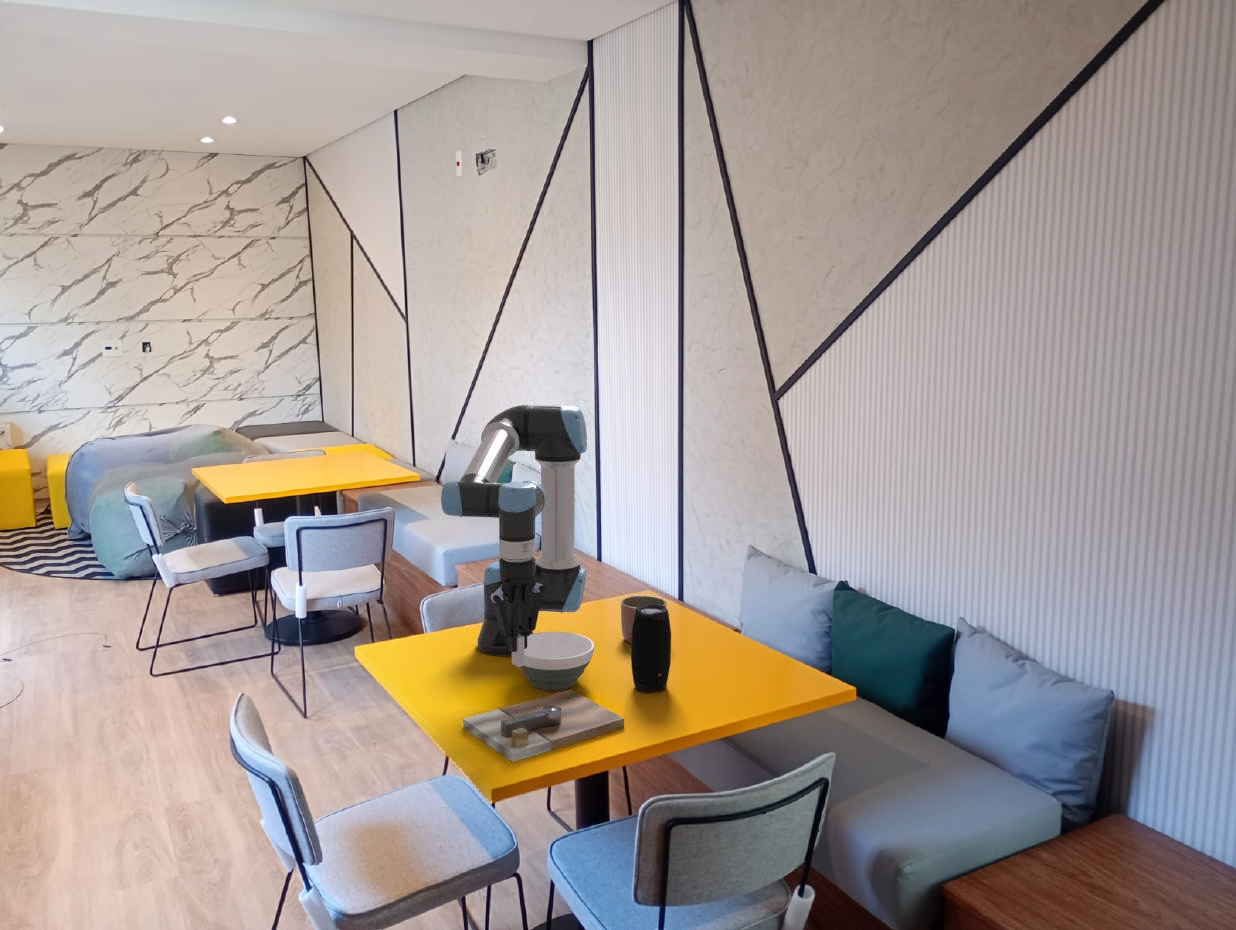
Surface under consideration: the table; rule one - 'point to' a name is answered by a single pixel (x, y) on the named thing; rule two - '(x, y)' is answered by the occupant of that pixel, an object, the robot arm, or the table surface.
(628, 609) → the planter
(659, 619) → the portable speaker
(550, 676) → the bowl
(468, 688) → the table surface
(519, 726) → the door lever handle
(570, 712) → the board
